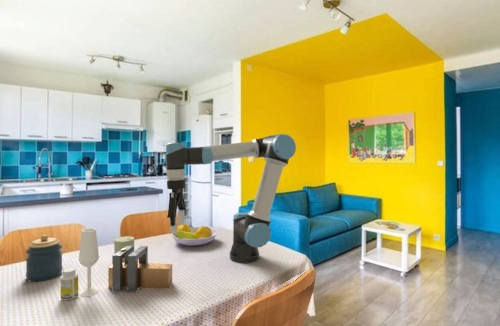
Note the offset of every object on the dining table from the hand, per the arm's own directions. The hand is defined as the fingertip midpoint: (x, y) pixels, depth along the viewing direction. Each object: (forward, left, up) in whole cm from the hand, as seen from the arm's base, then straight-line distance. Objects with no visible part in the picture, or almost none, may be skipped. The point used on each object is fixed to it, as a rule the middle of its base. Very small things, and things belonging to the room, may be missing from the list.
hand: (177, 228), depth 125 cm
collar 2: (+14, +8, -21) cm, 26 cm away
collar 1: (+20, +8, -21) cm, 30 cm away
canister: (+58, +1, -21) cm, 61 cm away
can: (+31, -16, -21) cm, 41 cm away
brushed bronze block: (+13, +8, -21) cm, 26 cm away
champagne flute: (+30, +15, -21) cm, 40 cm away
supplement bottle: (+35, +19, -21) cm, 45 cm away
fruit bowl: (+5, -49, -21) cm, 53 cm away
